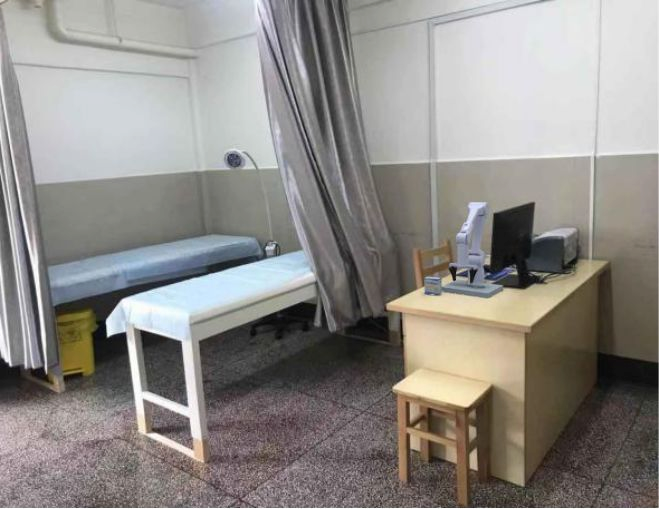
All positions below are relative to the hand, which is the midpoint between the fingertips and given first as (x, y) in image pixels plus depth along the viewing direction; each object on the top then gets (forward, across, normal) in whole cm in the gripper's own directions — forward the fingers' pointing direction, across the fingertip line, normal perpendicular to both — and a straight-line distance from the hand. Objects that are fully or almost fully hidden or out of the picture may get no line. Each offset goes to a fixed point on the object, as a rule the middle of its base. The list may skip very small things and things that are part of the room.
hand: (462, 281), depth 285 cm
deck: (+4, +4, +1) cm, 6 cm away
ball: (0, +3, 0) cm, 3 cm away
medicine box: (+5, -9, -14) cm, 18 cm away
